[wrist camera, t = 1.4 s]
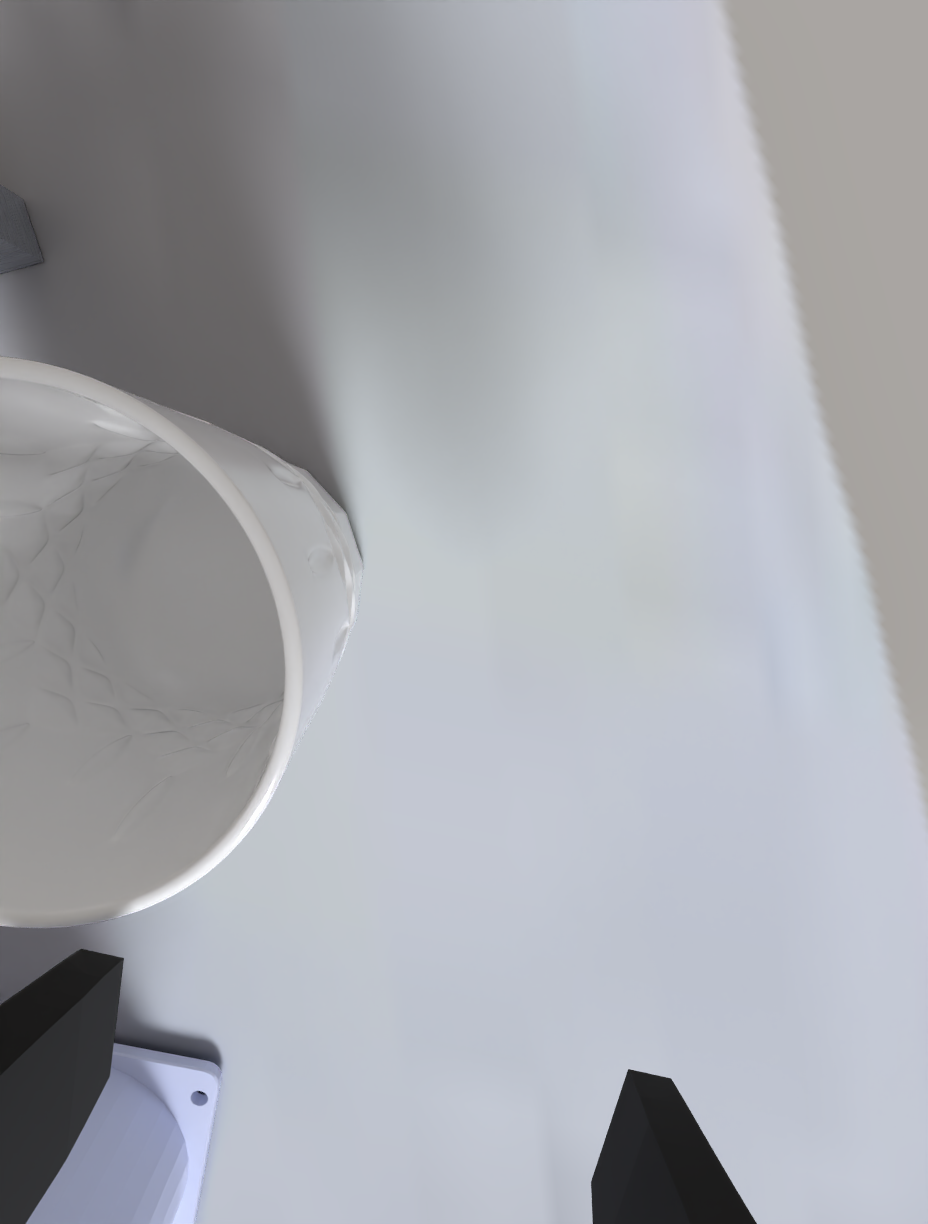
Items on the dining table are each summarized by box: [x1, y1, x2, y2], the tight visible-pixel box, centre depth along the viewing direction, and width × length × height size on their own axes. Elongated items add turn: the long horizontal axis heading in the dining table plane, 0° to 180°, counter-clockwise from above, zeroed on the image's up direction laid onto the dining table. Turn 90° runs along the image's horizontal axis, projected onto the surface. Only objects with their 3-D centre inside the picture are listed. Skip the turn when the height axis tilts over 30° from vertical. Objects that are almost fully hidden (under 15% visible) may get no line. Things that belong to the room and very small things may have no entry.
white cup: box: [0, 356, 364, 928], centre depth 14 cm, size 8×8×10 cm
